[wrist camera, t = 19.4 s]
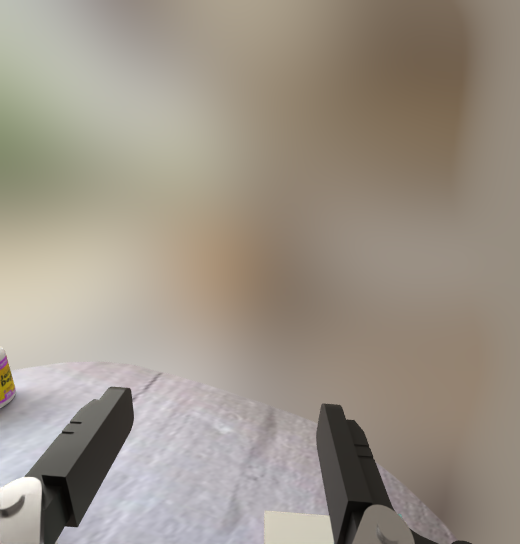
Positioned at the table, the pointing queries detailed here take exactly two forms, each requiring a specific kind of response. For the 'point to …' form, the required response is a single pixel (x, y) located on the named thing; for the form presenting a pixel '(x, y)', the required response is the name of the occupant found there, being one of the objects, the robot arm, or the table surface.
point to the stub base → (297, 528)
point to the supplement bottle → (5, 380)
